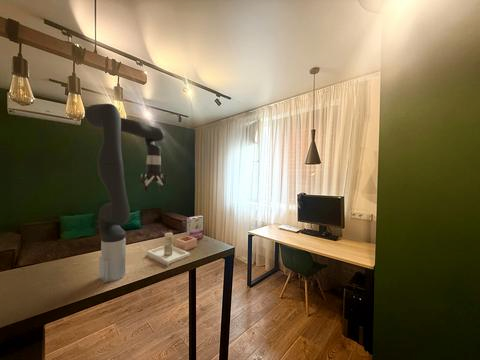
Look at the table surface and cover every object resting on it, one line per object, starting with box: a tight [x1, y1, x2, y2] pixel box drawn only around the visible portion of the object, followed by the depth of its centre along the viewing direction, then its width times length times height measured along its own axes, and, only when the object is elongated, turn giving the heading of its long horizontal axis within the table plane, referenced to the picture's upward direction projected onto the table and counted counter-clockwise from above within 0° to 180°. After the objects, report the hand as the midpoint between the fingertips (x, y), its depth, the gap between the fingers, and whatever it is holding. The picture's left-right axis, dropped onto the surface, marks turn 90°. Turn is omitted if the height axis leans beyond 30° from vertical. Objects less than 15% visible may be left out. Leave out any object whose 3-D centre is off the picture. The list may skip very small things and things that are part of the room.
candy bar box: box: [186, 215, 204, 240], centre depth 139 cm, size 11×5×16 cm, turn 132°
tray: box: [146, 245, 191, 267], centre depth 111 cm, size 14×20×2 cm
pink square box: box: [174, 234, 198, 252], centre depth 123 cm, size 9×9×6 cm
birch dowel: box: [163, 232, 174, 256], centre depth 111 cm, size 4×4×12 cm
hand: (153, 192), depth 112 cm, fingers open, 8 cm apart
